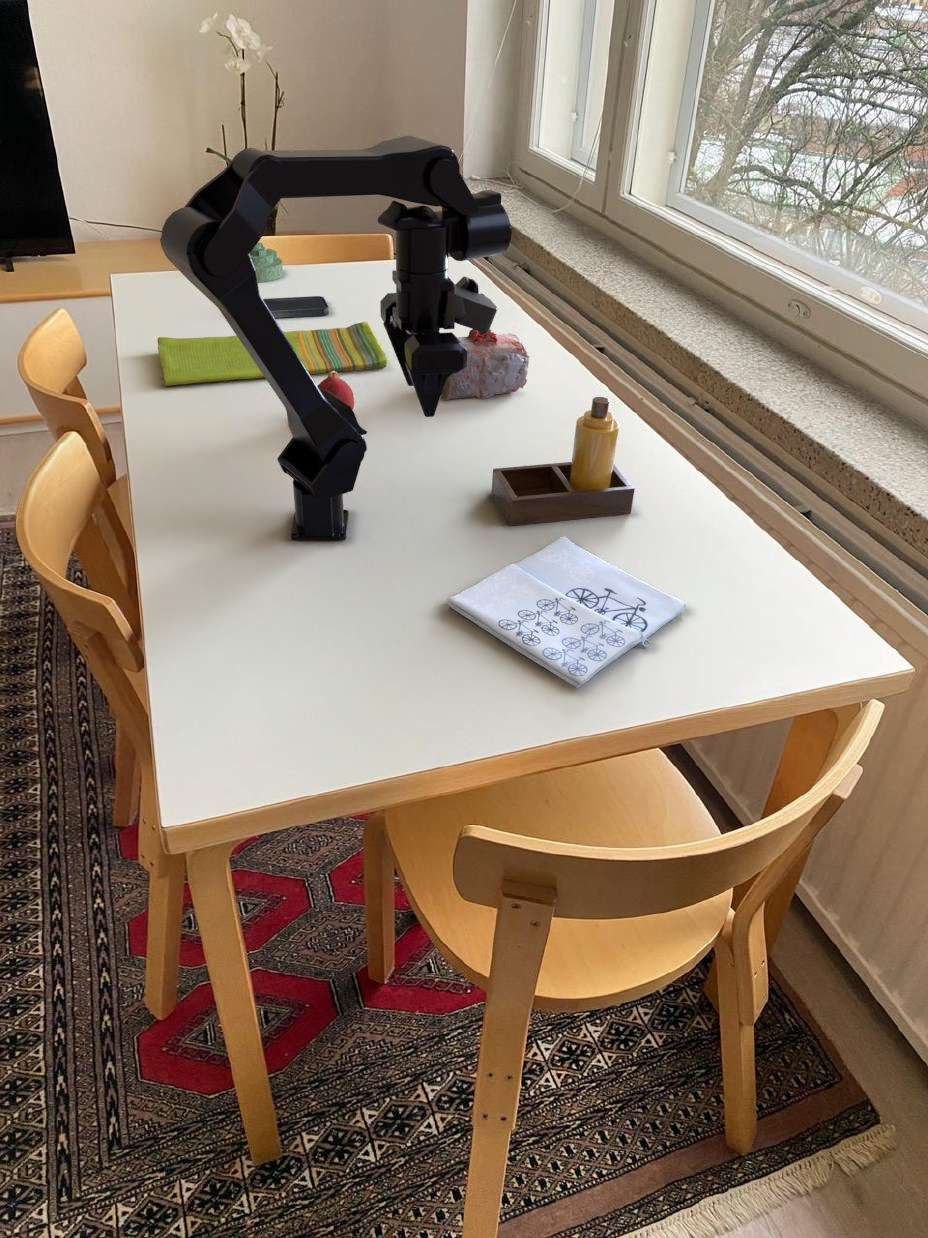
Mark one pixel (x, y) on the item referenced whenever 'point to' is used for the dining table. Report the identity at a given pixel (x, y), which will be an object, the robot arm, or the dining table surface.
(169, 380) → the dish towel
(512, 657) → the dining table surface
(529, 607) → the folded bicycle print cloth
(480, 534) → the dining table surface
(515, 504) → the brown divided tray
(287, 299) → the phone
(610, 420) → the bottle
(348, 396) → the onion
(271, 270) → the decorative artifact
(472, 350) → the red crystal topped stone
